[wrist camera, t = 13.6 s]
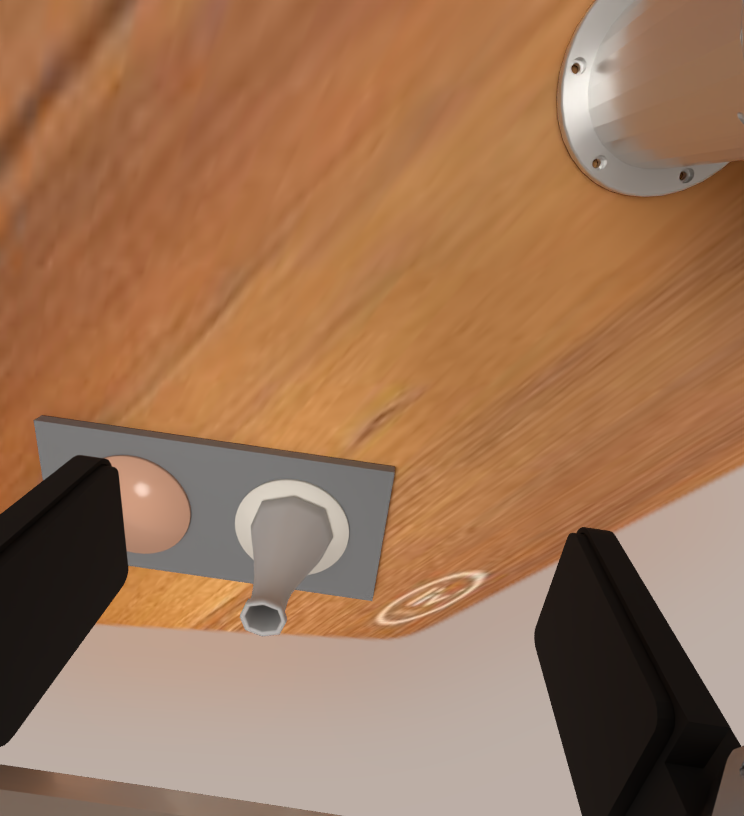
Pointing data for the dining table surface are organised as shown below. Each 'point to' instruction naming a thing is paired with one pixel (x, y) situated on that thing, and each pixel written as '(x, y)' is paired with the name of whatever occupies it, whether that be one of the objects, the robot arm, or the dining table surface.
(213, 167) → the dining table surface
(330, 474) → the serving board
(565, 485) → the dining table surface
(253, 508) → the cream coaster
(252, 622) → the flask
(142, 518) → the peach domed disc
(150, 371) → the dining table surface
